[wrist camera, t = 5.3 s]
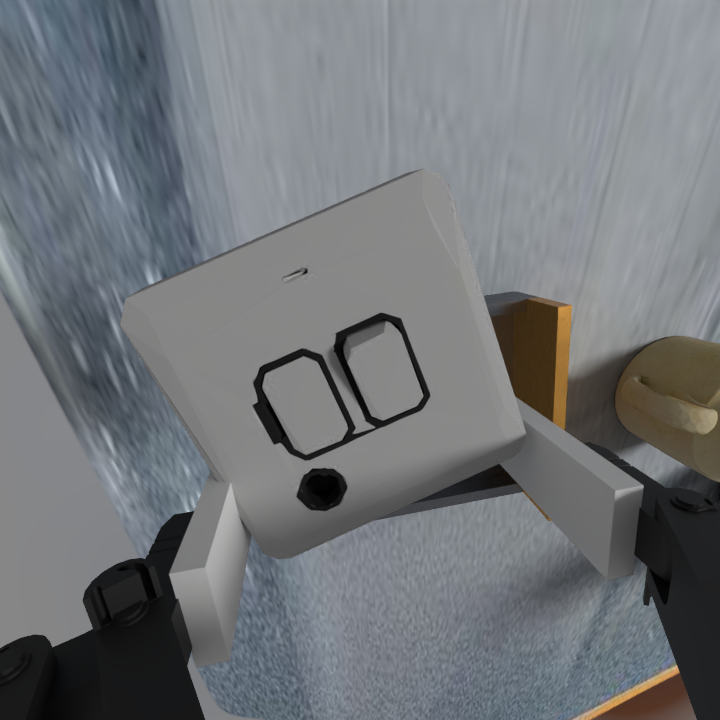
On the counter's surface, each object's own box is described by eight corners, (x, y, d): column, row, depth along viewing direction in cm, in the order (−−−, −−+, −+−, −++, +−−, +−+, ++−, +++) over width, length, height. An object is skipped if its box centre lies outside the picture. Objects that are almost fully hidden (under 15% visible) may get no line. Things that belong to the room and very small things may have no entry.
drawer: (236, 329, 32) (218, 355, 25) (516, 291, 35) (571, 305, 28) (275, 513, 38) (269, 577, 31) (513, 469, 40) (559, 518, 33)
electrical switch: (273, 574, 13) (76, 332, 8) (271, 467, 17) (142, 274, 13) (535, 456, 13) (478, 159, 9) (465, 381, 18) (404, 161, 13)
